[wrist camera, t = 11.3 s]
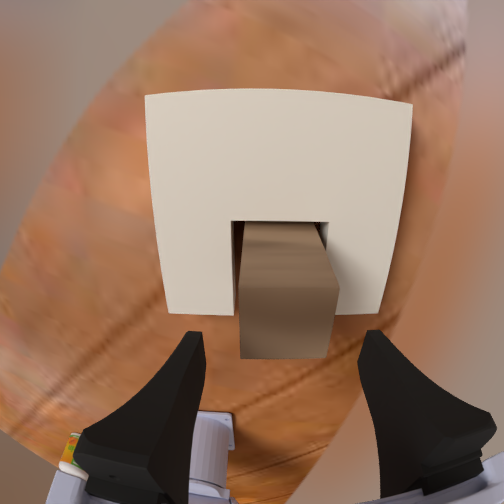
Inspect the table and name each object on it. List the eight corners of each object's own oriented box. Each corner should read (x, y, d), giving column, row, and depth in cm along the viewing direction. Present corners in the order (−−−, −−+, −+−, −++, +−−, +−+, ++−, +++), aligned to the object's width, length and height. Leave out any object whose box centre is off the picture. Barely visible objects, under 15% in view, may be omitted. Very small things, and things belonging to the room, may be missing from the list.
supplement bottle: (97, 439, 38) (81, 487, 30) (100, 451, 41) (87, 495, 32) (68, 427, 38) (50, 473, 29) (73, 440, 40) (58, 483, 32)
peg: (305, 270, 23) (325, 357, 15) (246, 269, 23) (240, 358, 15) (309, 214, 21) (340, 287, 13) (245, 213, 21) (238, 287, 13)
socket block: (368, 294, 24) (377, 313, 22) (176, 293, 24) (168, 313, 22) (395, 103, 17) (412, 104, 15) (157, 95, 17) (144, 95, 15)
